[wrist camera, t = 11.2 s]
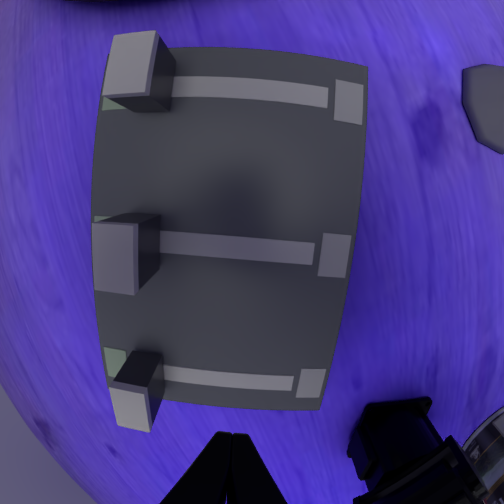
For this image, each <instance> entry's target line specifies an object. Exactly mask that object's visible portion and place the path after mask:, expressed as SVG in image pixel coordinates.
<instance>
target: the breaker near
mask: <svg viewBox="0 0 504 504" xmlns="http://www.w3.org/2000/svg"><path fill="white" fill-rule="evenodd" d="M175 66H176V60H175V58H174V57H173V55H172V54H171V52H170V51H169V49H168V48H167V46H166V45H165V43H164V42H163V40H162V39H161V37H160V36H159V34H158V33H157V31H156V30H153V31H143V32H134V33H127V34H120V35H114V38H113V42H112V46H111V50H110V55H109V60H108V65H107V70H106V75H105V81H104V86H103V92H102V96H104V97H106V98H108V99H110V100H112V101H114V102H116V103H117V104H119V105H121V106H123V107H125V108H127V109H129V110H131V111H133V112H169V110H170V102H171V94H172V87H173V80H174V73H175Z"/></svg>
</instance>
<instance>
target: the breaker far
mask: <svg viewBox="0 0 504 504" xmlns="http://www.w3.org/2000/svg"><path fill="white" fill-rule="evenodd" d="M109 390H110V395H111V399H112V404H113V408H114V412H115V417H116V421H117V425H118V426H122V427H127V428H131V429H136V430H140V431H145V432H150V431H151V428H152V426H153V423H154V420H155V418H156V415H157V412H158V409H159V407H160V404H161V401H162V399H163V396H164V393H165V384H164V371H163V356H162V355H159V354H152V353H146V352H140V351H134V350H132V352H131V353H130V355H129V356H128V358H127V359H126V361H125V362H124V364H123V366H122V367H121V369H120V370H119V372H118V373H117V375H116V377H115V378H114V380H113V381H112V383H111V385H110V386H109Z"/></svg>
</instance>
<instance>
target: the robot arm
mask: <svg viewBox="0 0 504 504" xmlns="http://www.w3.org/2000/svg"><path fill="white" fill-rule="evenodd" d="M431 405H432V400H431V398H430V397H425V398H418V399H411V400H403V401H394V402H385V403H374V404H369V405H367V406H366V407H365V409H364V412H363V414H362V417H361V419H360V422H359V424H358V426H357V427H356V429H355V431H354V433H353V436H352V438H351V441H350V443H349V445H348V450H347V456H348V457H349V458H352V460H353V463H354V466H355V469H356V472H357V475H358V478H359V479H360V480H361V481H362V480H365V482H366V485H367V488H368V491H369V492H367V493H365V494H363V495H361V496H358V497H356V498H354V499H353V504H484V502H483V499H485V498H486V497H487V496H489V495H490V493H489V491H488V489H487V488H486V486H485V484H484V482H483V480H482V478H481V476H480V474H479V473H478V471H477V469H476V467H475V466H474V464H473V463H472V461H471V460H470V458H469V457H468V456H467V454H466V453H465V451H464V450H463V449H462V448H461V446H460V445H459V444H458V443H457V441H456V440H455V439H454V438H453V437H452V435H450V436H448V437H447V438H446V439H445V441H444V442H443V440H442V439H441V437H440V435H439V434H438V432H437V431H436V429H435V428H434V426H433V425H432V423H431V421H430V420H429V418H428V417H427V413H428V411H429V409H430V407H431ZM371 409H372V410H371ZM226 496H227V504H287V502H286V500H285V499H284V497H283V495H282V494H281V492H280V490H279V488H278V487H277V485H276V483H275V482H274V480H273V478H272V476H271V475H270V473H269V471H268V469H267V468H266V466H265V464H264V462H263V460H262V458H261V457H260V455H259V453H258V451H257V449H256V447H255V446H254V444H253V442H252V440H251V438H250V436H249V435H248V434H243V433H234V434H233V435H232V433H230V432H222V431H218V432H216V433H215V434H214V436H213V437H212V438H211V440H210V441H209V442H208V444H207V445H206V446H205V448H204V449H203V450H202V452H201V453H200V454H199V455H198V457H197V458H196V459H195V461H194V462H193V463H192V464H191V466H190V467H189V468H188V469H187V471H186V472H185V473H184V474H183V476H182V477H181V478H180V479H179V481H178V482H177V483H176V484H175V486H174V487H173V488H172V489H171V490H170V492H169V493H168V494H167V495H166V496H165V498H164V499H163V500H162V501H161V502H160V503H159V504H225V503H226Z"/></svg>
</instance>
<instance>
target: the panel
mask: <svg viewBox="0 0 504 504" xmlns="http://www.w3.org/2000/svg"><path fill="white" fill-rule="evenodd" d="M168 49H169V51H170V52H171V54H172V55H173V57H174V58H175V60H176V66H175V73H174V80H173V87H172V94H171V102H170V110H169V112H133V111H131V110H129V109H127V108H125V107H123V106H121V105H119V104H117V103H116V102H114V101H112V100H110V99H108V98H106V97H104V96H102V92H103V86H104V81H105V75H106V70H107V65H108V60H109V55H110V54H108V57H107V62H106V67H105V72H104V78H103V83H102V89H101V95H100V102H99V109H98V116H97V125H96V133H95V143H94V155H93V169H92V190H91V250H92V223H94V222H97V221H100V220H104V219H107V218H110V217H113V216H117V215H120V214H124V213H141V214H159V215H161V217H160V258H159V270H158V271H157V272H156V273H155V274H154V275H153V277H152V278H151V279H150V280H149V281H148V282H147V283H146V284H145V285H144V286H143V287H142V288H141V289H140V290H139V291H138V292H137V293H136V294H135V295H127V294H120V293H113V292H105V291H98V290H95V289H94V297H95V308H96V317H97V325H98V333H99V340H100V347H101V353H102V359H103V365H104V371H105V376H106V381H107V386H108V389H109V386H110V385H111V383H112V381H113V380H114V378H115V377H116V375H117V373H118V372H119V370H120V369H121V367H122V366H123V364H124V362H125V361H126V359H127V358H128V356H129V355H130V353H131V352H132V350H134V351H140V352H146V353H152V354H159V355H162V356H163V371H164V384H165V393H164V396H163V399H164V400H171V401H177V402H185V403H192V404H200V405H209V406H219V407H230V408H244V409H261V410H319V409H320V406H321V402H322V399H323V395H324V391H325V388H326V384H327V380H328V376H329V372H330V368H331V364H332V360H333V356H334V351H335V347H336V343H337V338H338V334H339V329H340V324H341V319H342V315H343V310H344V304H345V299H346V294H347V288H348V283H349V277H350V271H351V265H352V259H353V252H354V246H355V239H356V232H357V224H358V216H359V208H360V199H361V190H362V180H363V169H364V157H365V142H366V125H367V99H368V67H367V66H363V65H358V64H354V63H349V62H345V61H340V60H335V59H329V58H324V57H318V56H312V55H305V54H298V53H290V52H282V51H273V50H262V49H248V48H227V47H183V48H168ZM92 271H93V257H92ZM93 286H94V275H93Z"/></svg>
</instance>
